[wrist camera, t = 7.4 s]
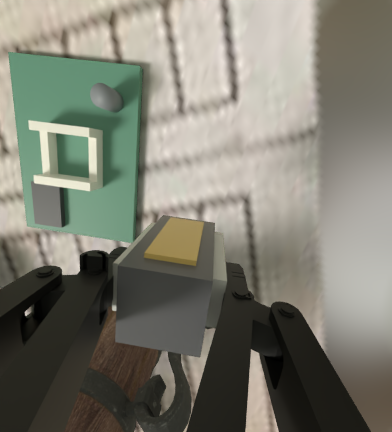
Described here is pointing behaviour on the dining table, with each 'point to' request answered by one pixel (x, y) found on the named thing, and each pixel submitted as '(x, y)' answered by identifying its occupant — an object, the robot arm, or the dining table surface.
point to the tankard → (128, 389)
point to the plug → (167, 287)
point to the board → (78, 143)
